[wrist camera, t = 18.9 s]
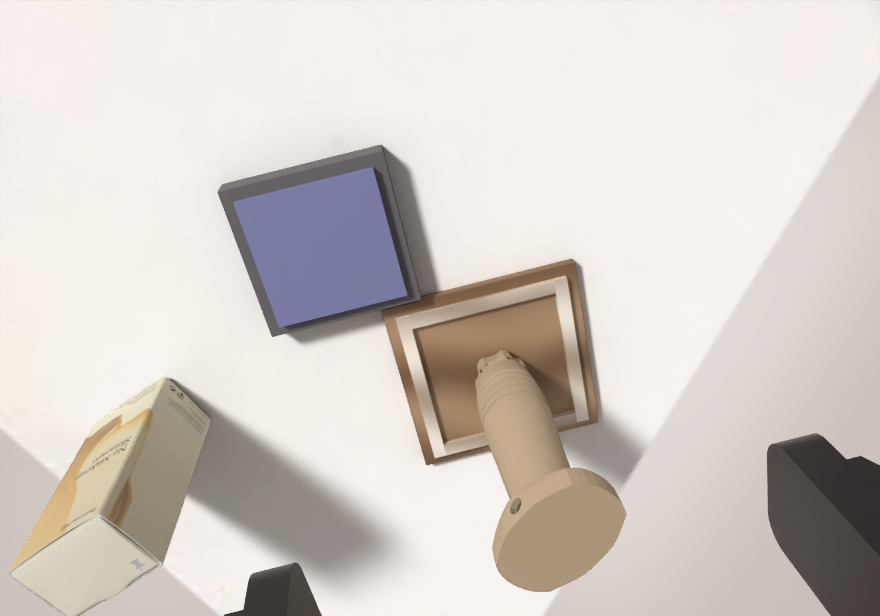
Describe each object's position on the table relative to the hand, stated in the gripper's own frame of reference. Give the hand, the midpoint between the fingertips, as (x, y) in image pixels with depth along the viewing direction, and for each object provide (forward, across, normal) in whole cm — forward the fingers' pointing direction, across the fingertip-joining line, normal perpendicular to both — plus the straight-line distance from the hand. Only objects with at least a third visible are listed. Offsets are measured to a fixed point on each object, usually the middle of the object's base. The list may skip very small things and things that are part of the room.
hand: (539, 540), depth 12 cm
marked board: (+30, -2, +15) cm, 34 cm away
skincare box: (+30, +20, +13) cm, 39 cm away
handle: (+30, -2, +15) cm, 33 cm away
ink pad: (+30, +6, +4) cm, 31 cm away
